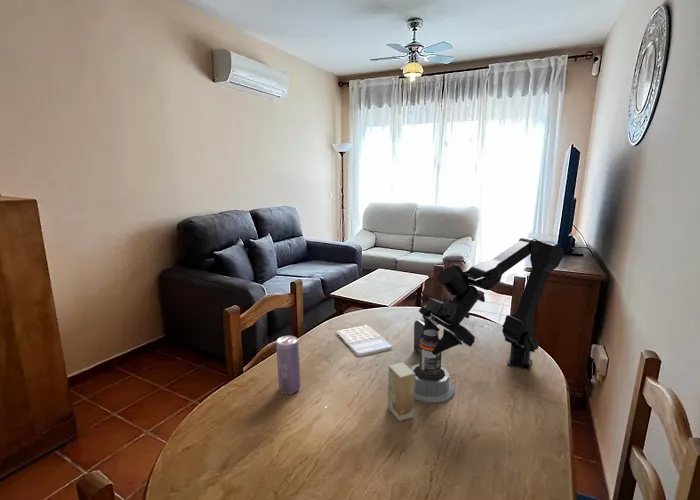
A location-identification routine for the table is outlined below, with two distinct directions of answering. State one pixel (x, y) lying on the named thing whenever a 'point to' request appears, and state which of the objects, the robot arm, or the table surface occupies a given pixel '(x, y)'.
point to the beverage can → (288, 364)
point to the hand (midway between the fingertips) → (426, 349)
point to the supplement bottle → (429, 353)
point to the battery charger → (418, 334)
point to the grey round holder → (432, 386)
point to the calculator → (364, 340)
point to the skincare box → (401, 391)
